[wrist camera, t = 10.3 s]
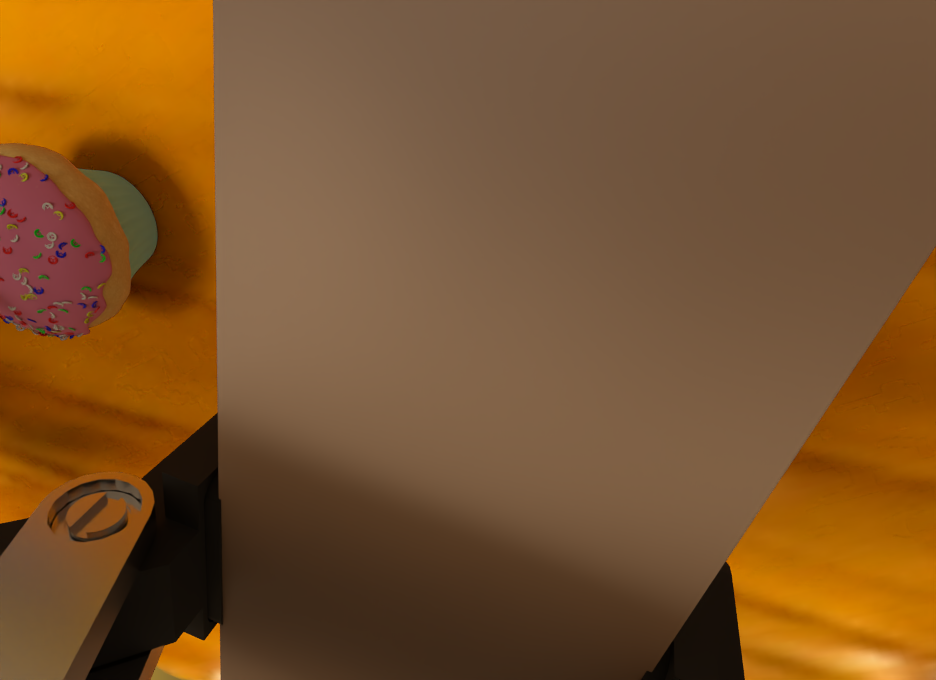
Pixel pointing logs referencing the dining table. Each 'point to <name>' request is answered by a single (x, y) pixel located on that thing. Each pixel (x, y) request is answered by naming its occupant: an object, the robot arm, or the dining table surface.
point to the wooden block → (537, 310)
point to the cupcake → (67, 242)
